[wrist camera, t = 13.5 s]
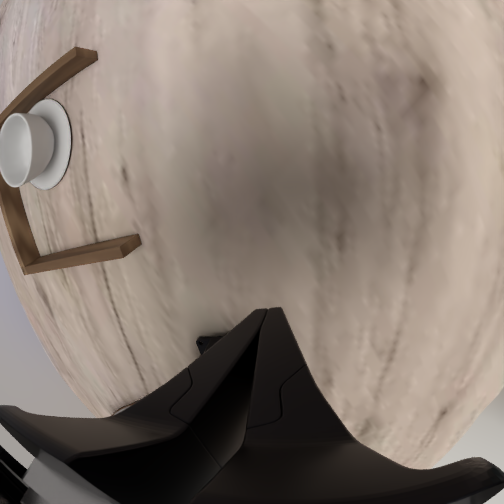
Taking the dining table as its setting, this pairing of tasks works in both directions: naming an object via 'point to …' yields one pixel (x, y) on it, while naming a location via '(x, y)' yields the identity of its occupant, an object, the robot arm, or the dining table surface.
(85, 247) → the corral
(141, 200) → the dining table surface
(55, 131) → the teacup
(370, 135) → the dining table surface
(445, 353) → the dining table surface
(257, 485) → the robot arm
